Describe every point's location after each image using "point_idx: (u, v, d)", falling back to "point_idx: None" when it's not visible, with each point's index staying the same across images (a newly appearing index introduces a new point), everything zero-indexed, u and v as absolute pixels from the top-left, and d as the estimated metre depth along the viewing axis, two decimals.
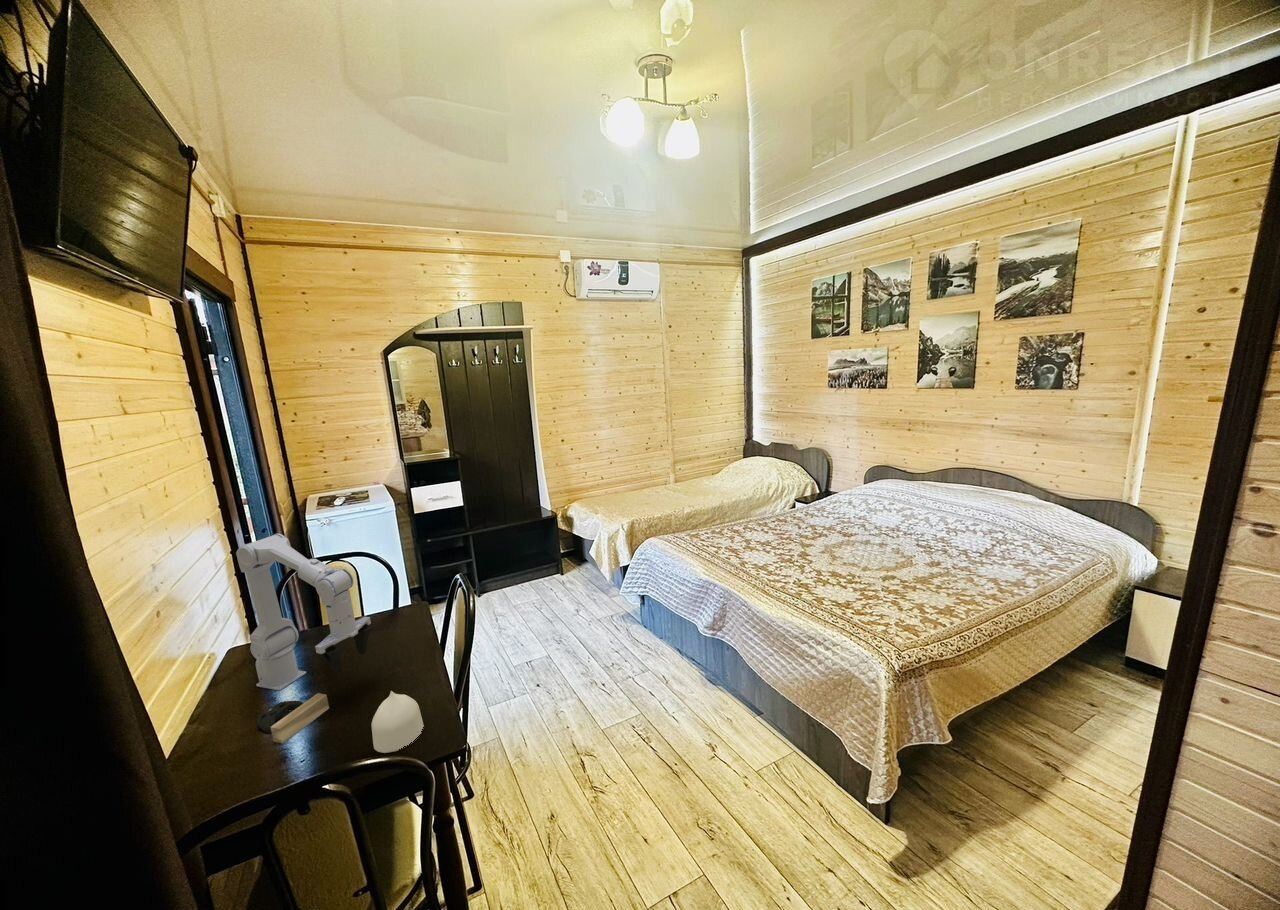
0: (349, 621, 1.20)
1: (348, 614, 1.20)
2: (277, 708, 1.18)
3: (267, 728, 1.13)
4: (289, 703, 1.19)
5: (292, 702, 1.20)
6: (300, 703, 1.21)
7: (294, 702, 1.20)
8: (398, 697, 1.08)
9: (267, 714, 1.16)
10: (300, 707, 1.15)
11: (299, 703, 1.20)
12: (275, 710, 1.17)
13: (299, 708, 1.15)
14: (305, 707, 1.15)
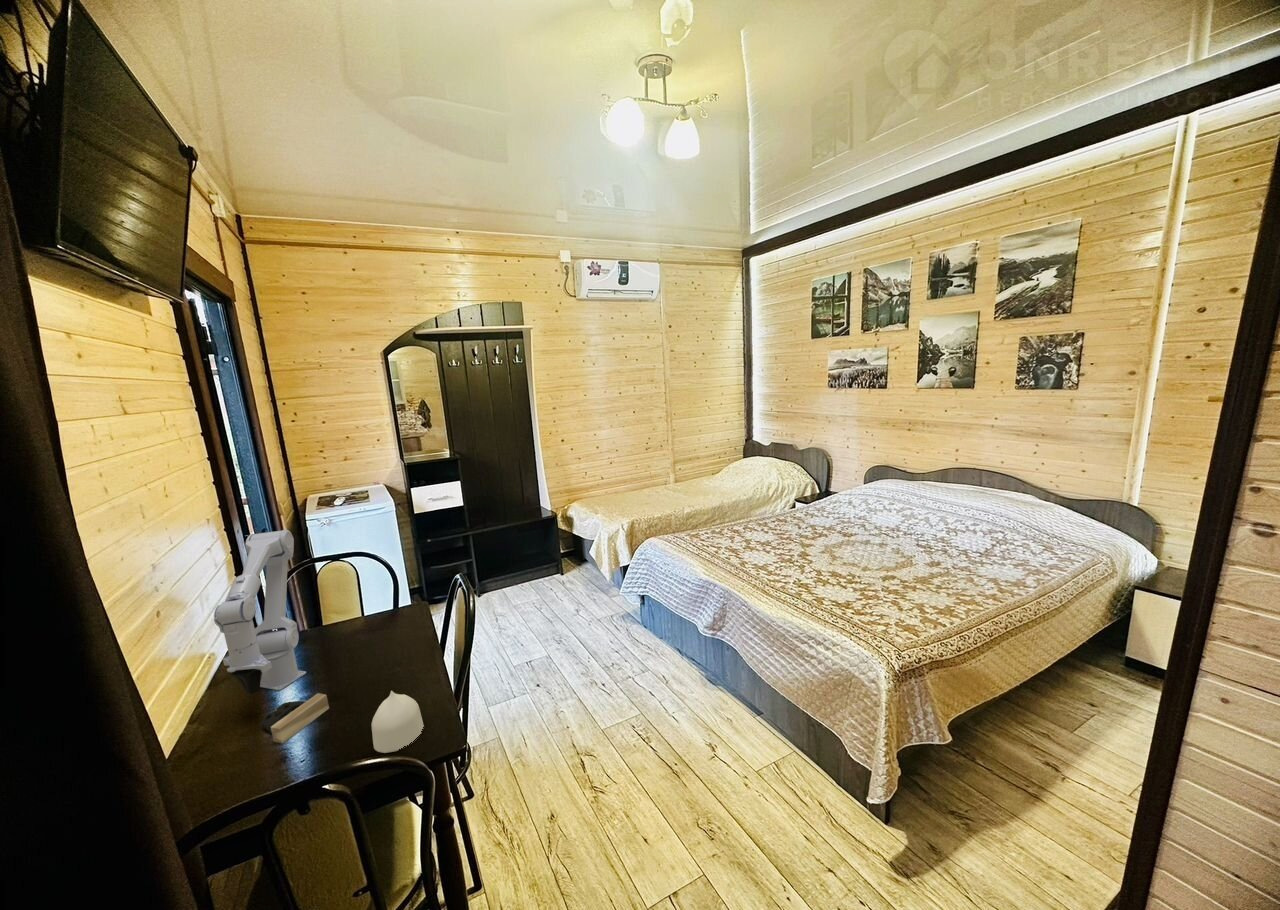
0: (230, 655, 1.14)
1: (235, 647, 1.13)
2: (282, 709, 1.17)
3: None
4: (294, 704, 1.19)
5: (297, 703, 1.20)
6: None
7: (299, 703, 1.20)
8: (398, 697, 1.09)
9: (272, 715, 1.15)
10: (300, 707, 1.15)
11: None
12: (280, 711, 1.17)
13: (299, 708, 1.15)
14: (305, 707, 1.15)
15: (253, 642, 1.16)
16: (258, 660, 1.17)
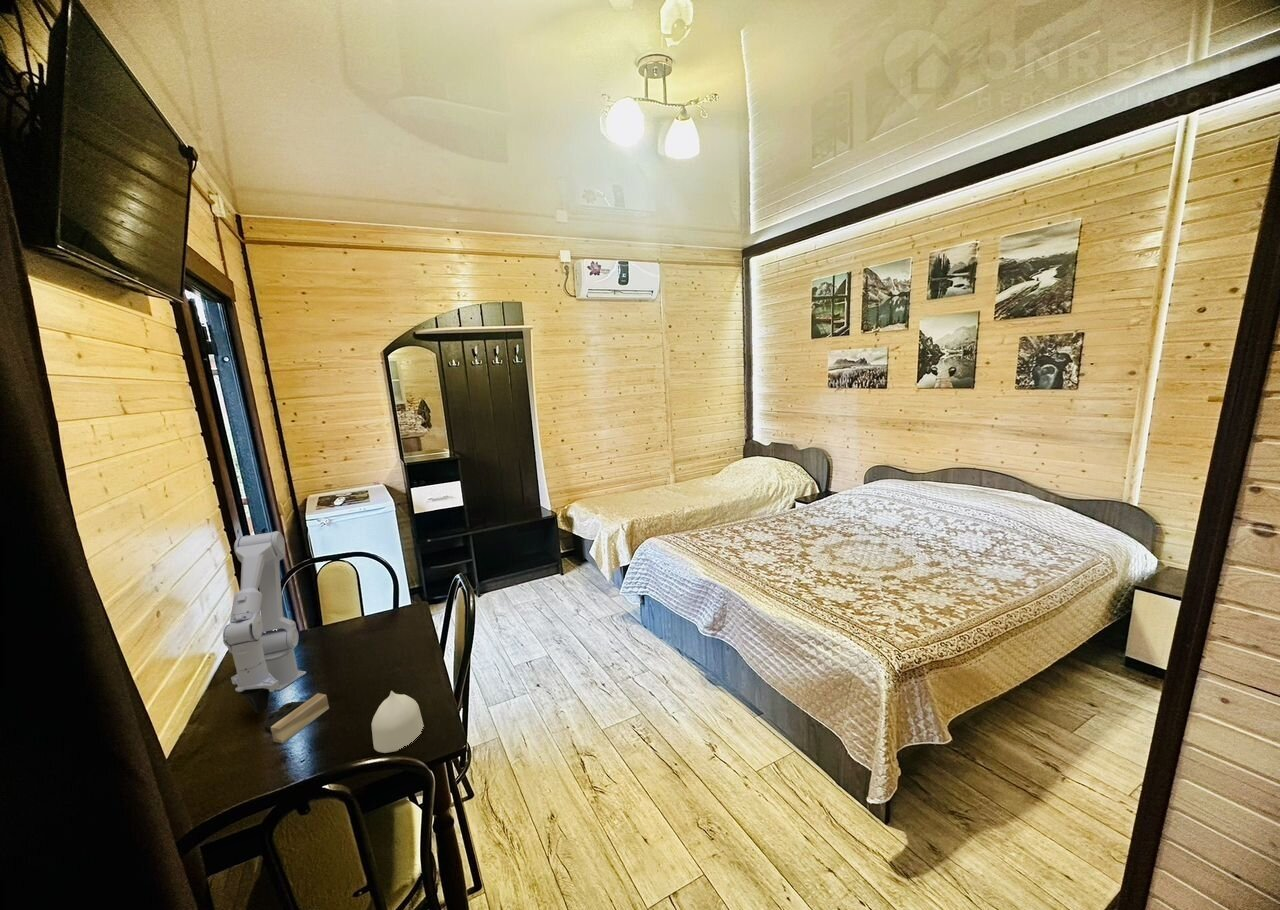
0: (239, 675, 1.14)
1: (245, 667, 1.14)
2: (284, 709, 1.17)
3: None
4: (296, 704, 1.19)
5: (299, 703, 1.20)
6: None
7: (301, 703, 1.20)
8: (398, 697, 1.08)
9: (275, 715, 1.15)
10: (300, 707, 1.15)
11: None
12: (282, 711, 1.17)
13: (299, 708, 1.15)
14: (305, 707, 1.15)
15: (262, 661, 1.17)
16: (266, 679, 1.17)
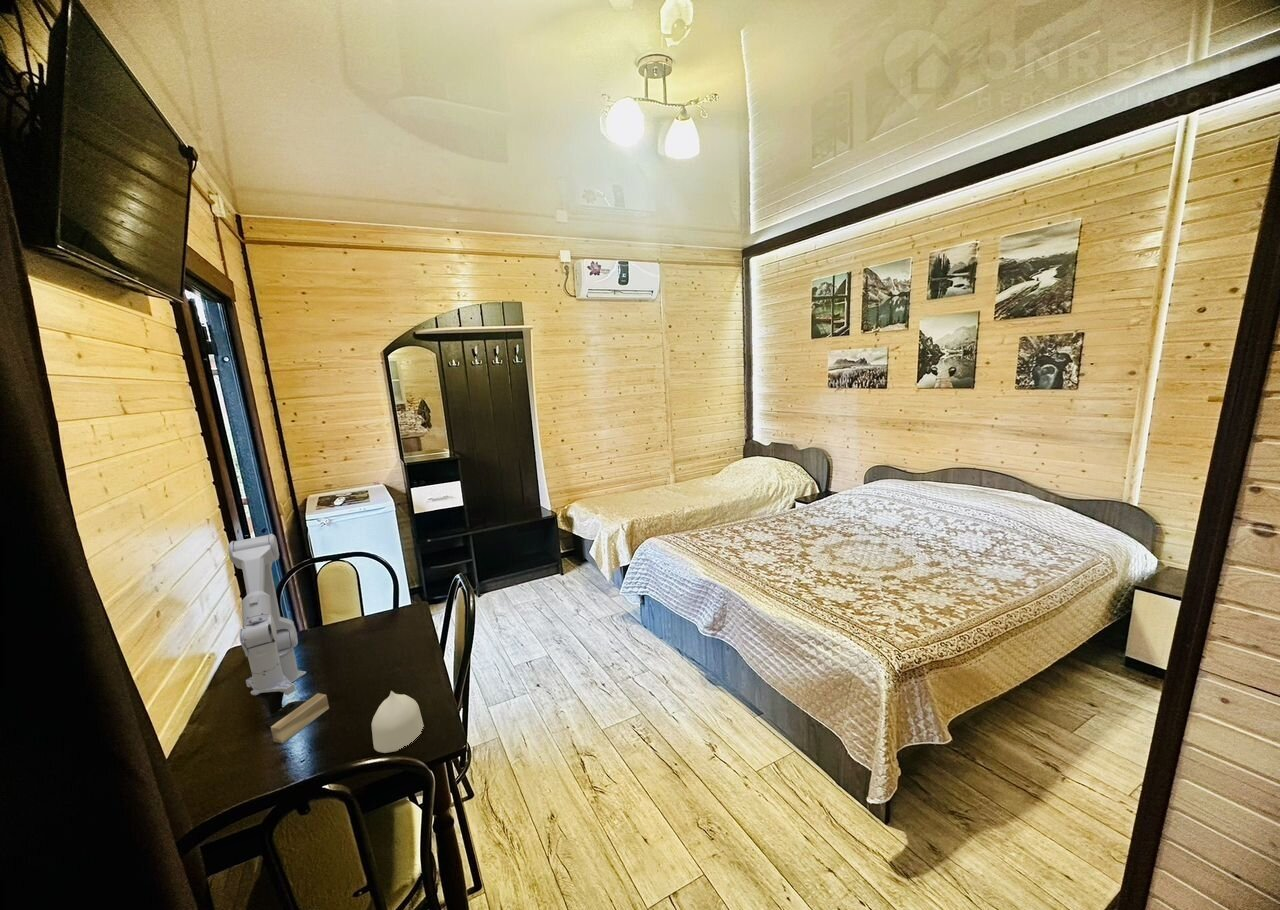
0: (254, 678, 1.13)
1: (263, 669, 1.13)
2: (287, 708, 1.17)
3: None
4: (299, 703, 1.19)
5: (302, 702, 1.19)
6: None
7: (304, 702, 1.19)
8: (398, 697, 1.08)
9: (277, 714, 1.15)
10: (300, 707, 1.15)
11: None
12: (285, 710, 1.16)
13: (299, 708, 1.15)
14: (305, 707, 1.15)
15: (278, 662, 1.16)
16: (281, 682, 1.16)
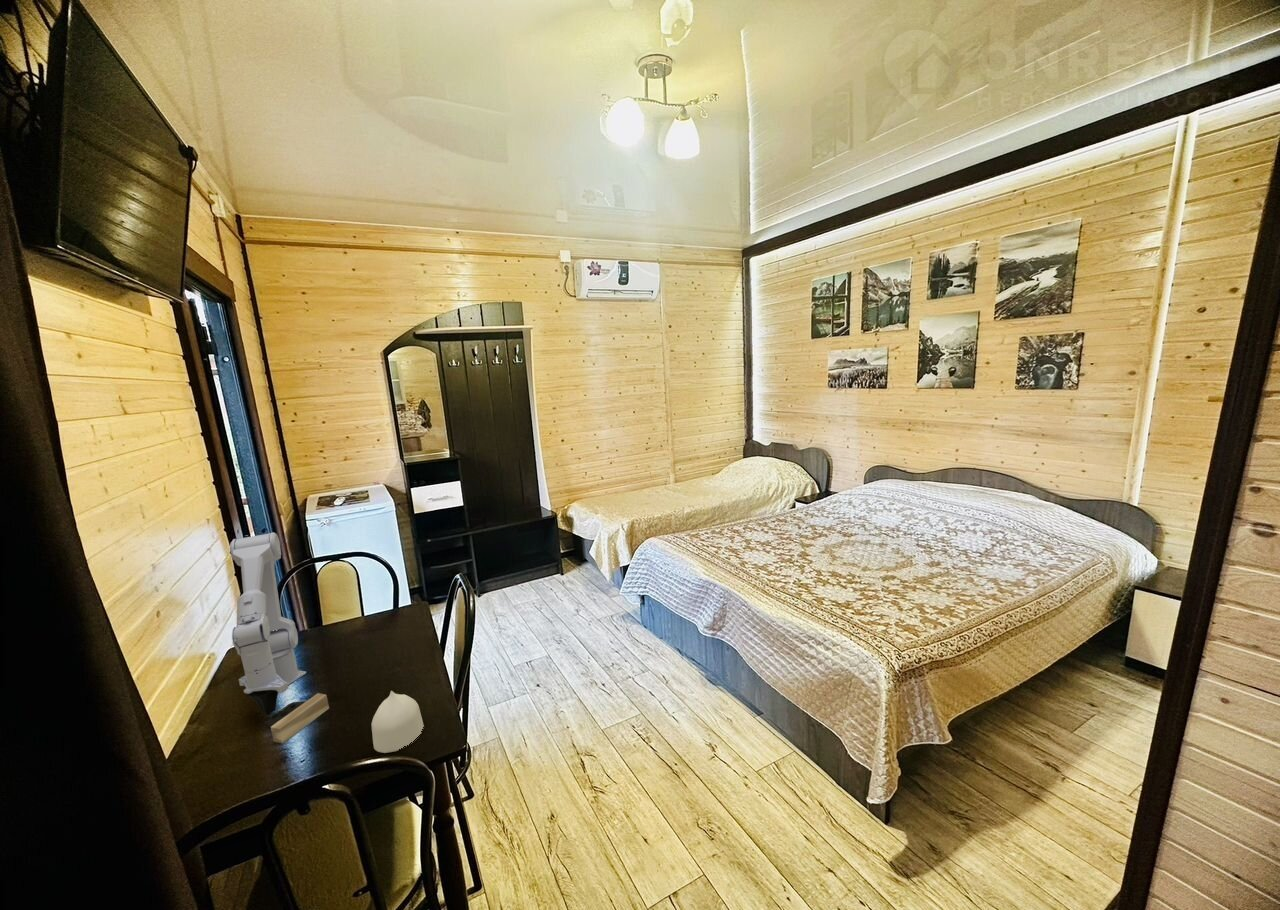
0: (247, 677, 1.14)
1: (255, 668, 1.13)
2: (288, 709, 1.17)
3: None
4: (300, 704, 1.19)
5: None
6: None
7: None
8: (398, 697, 1.09)
9: (278, 714, 1.15)
10: (300, 707, 1.15)
11: None
12: (286, 711, 1.17)
13: (299, 708, 1.15)
14: (305, 707, 1.15)
15: (271, 661, 1.16)
16: (274, 681, 1.17)
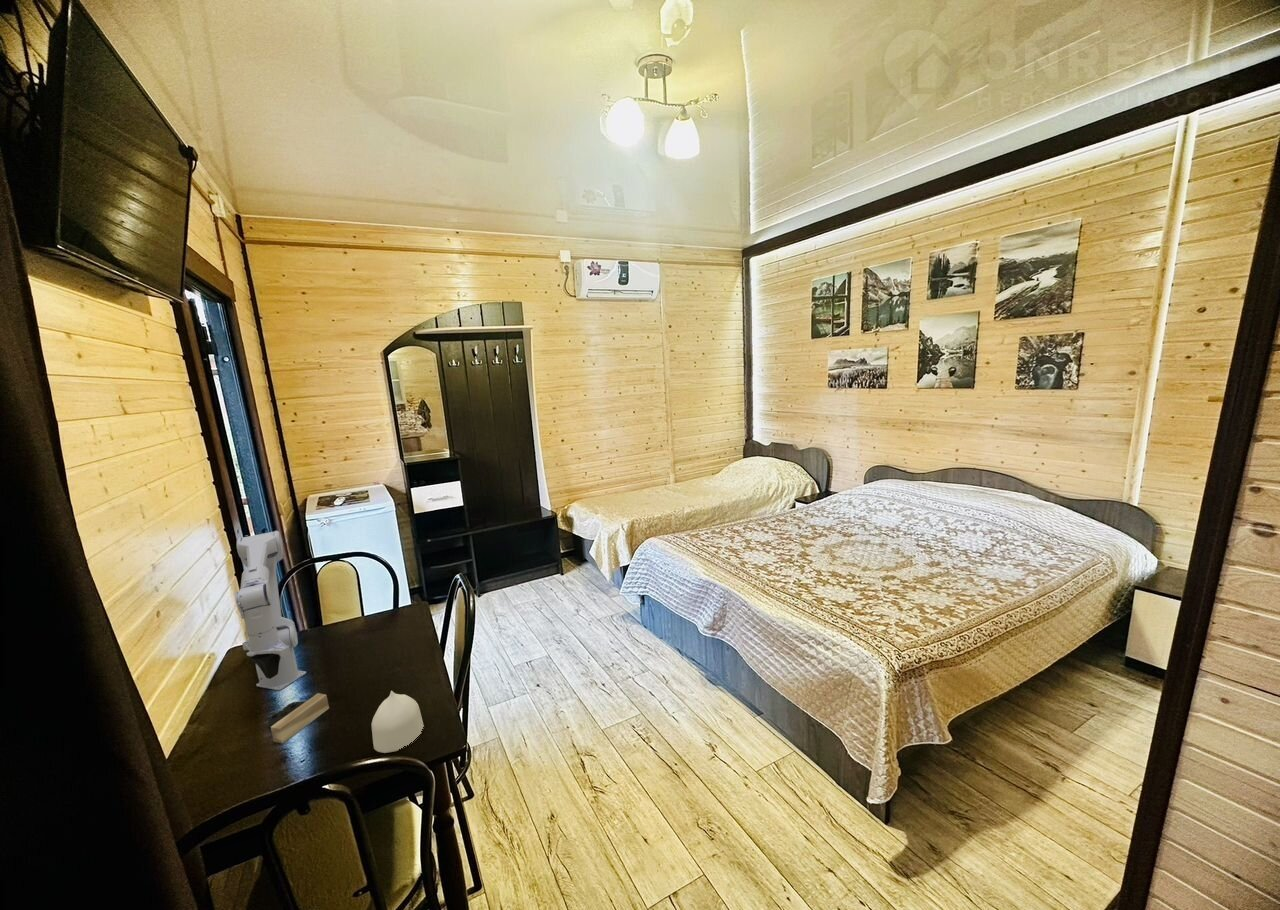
0: (250, 640, 1.15)
1: (259, 631, 1.15)
2: (288, 709, 1.17)
3: None
4: (300, 704, 1.19)
5: None
6: None
7: None
8: (398, 697, 1.08)
9: (278, 714, 1.15)
10: (300, 707, 1.15)
11: None
12: (286, 711, 1.17)
13: (299, 708, 1.15)
14: (305, 707, 1.15)
15: (274, 625, 1.19)
16: (277, 645, 1.19)
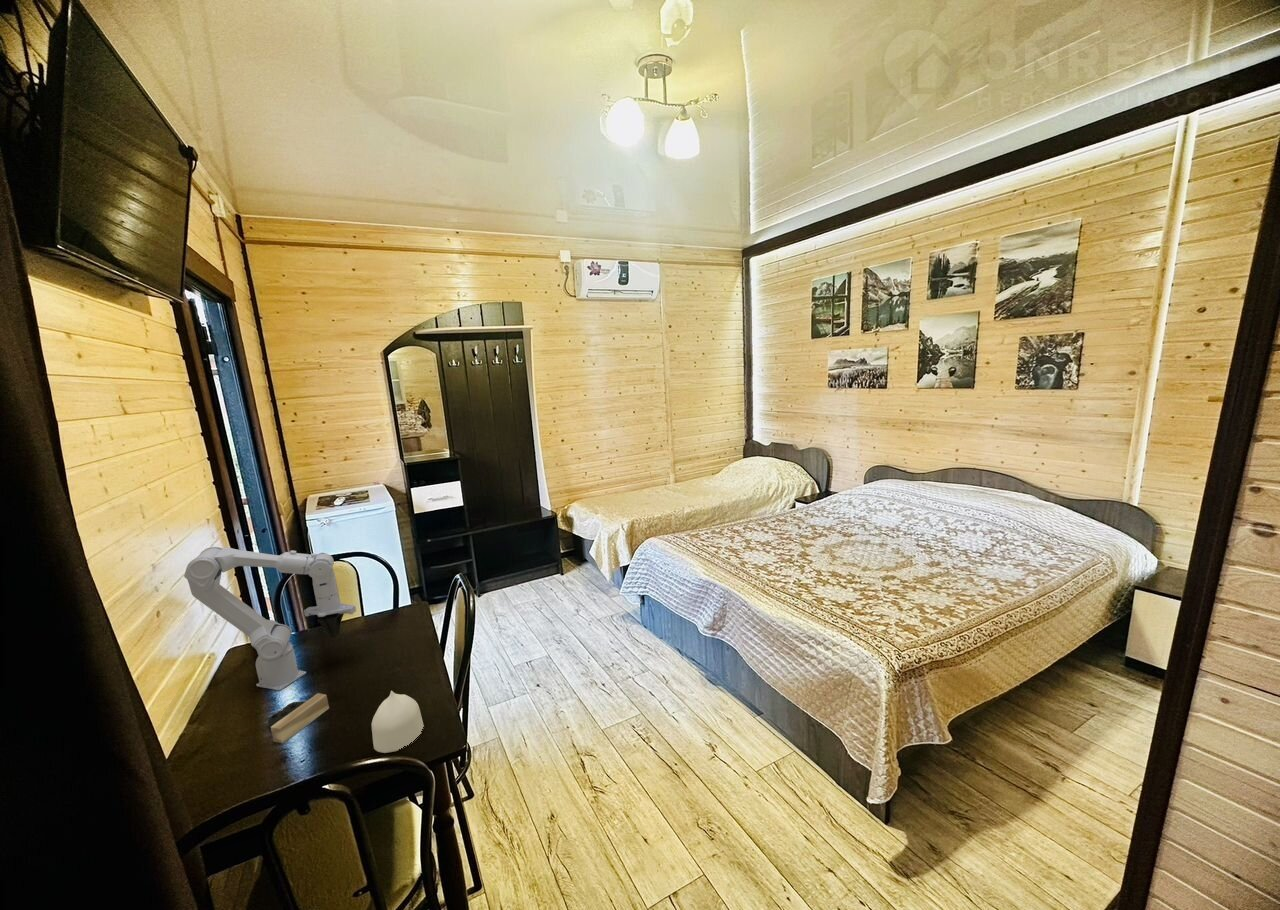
0: (320, 603, 1.33)
1: (337, 589, 1.37)
2: (288, 709, 1.17)
3: None
4: (300, 704, 1.19)
5: None
6: None
7: None
8: (398, 697, 1.08)
9: (278, 714, 1.15)
10: (300, 707, 1.15)
11: None
12: (286, 711, 1.16)
13: (299, 708, 1.15)
14: (305, 707, 1.15)
15: None
16: (341, 606, 1.37)
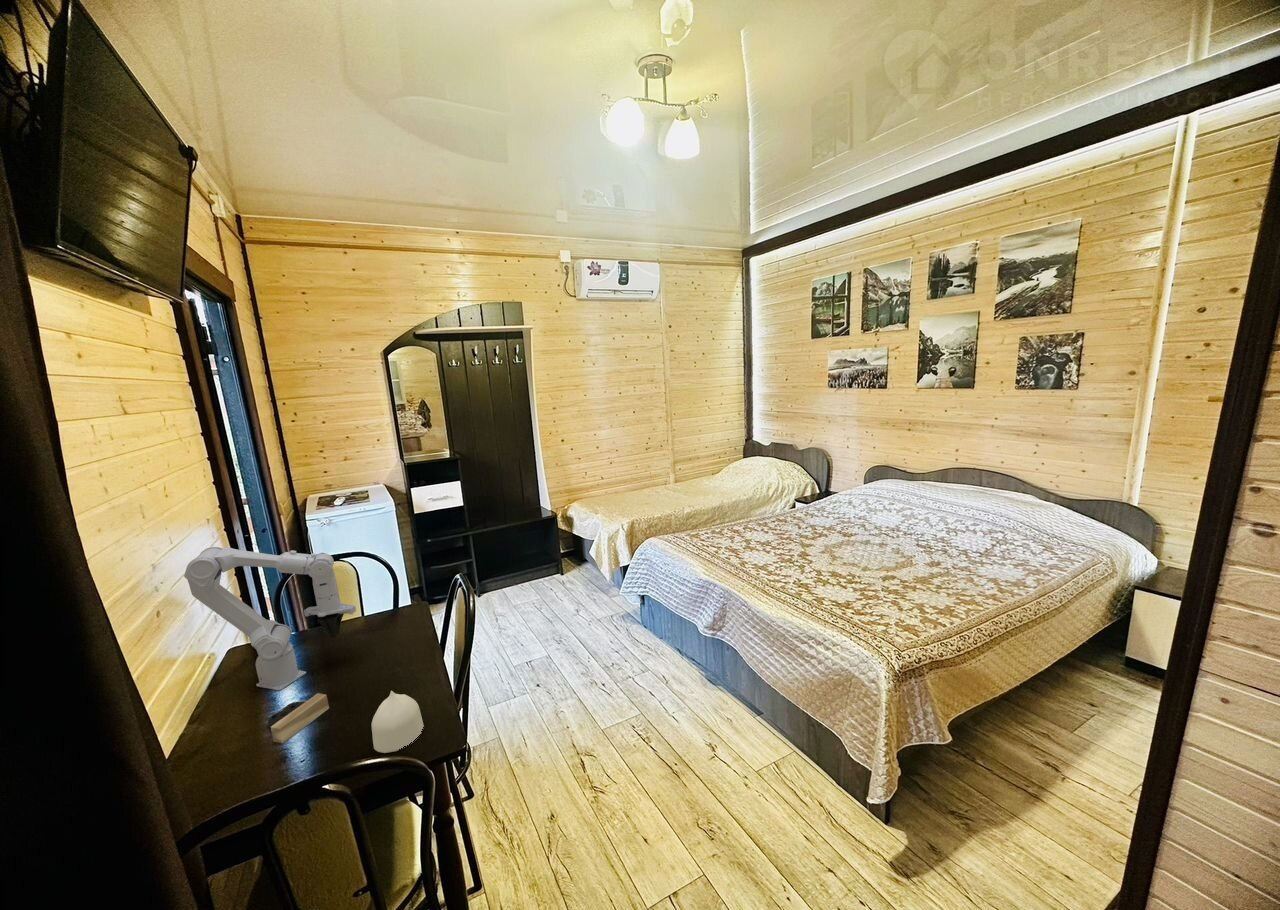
0: (320, 603, 1.33)
1: (337, 589, 1.37)
2: (288, 709, 1.17)
3: None
4: (300, 704, 1.19)
5: None
6: None
7: None
8: (398, 697, 1.09)
9: (278, 714, 1.15)
10: (300, 707, 1.15)
11: None
12: (286, 711, 1.17)
13: (299, 708, 1.15)
14: (305, 707, 1.15)
15: None
16: (341, 606, 1.37)
